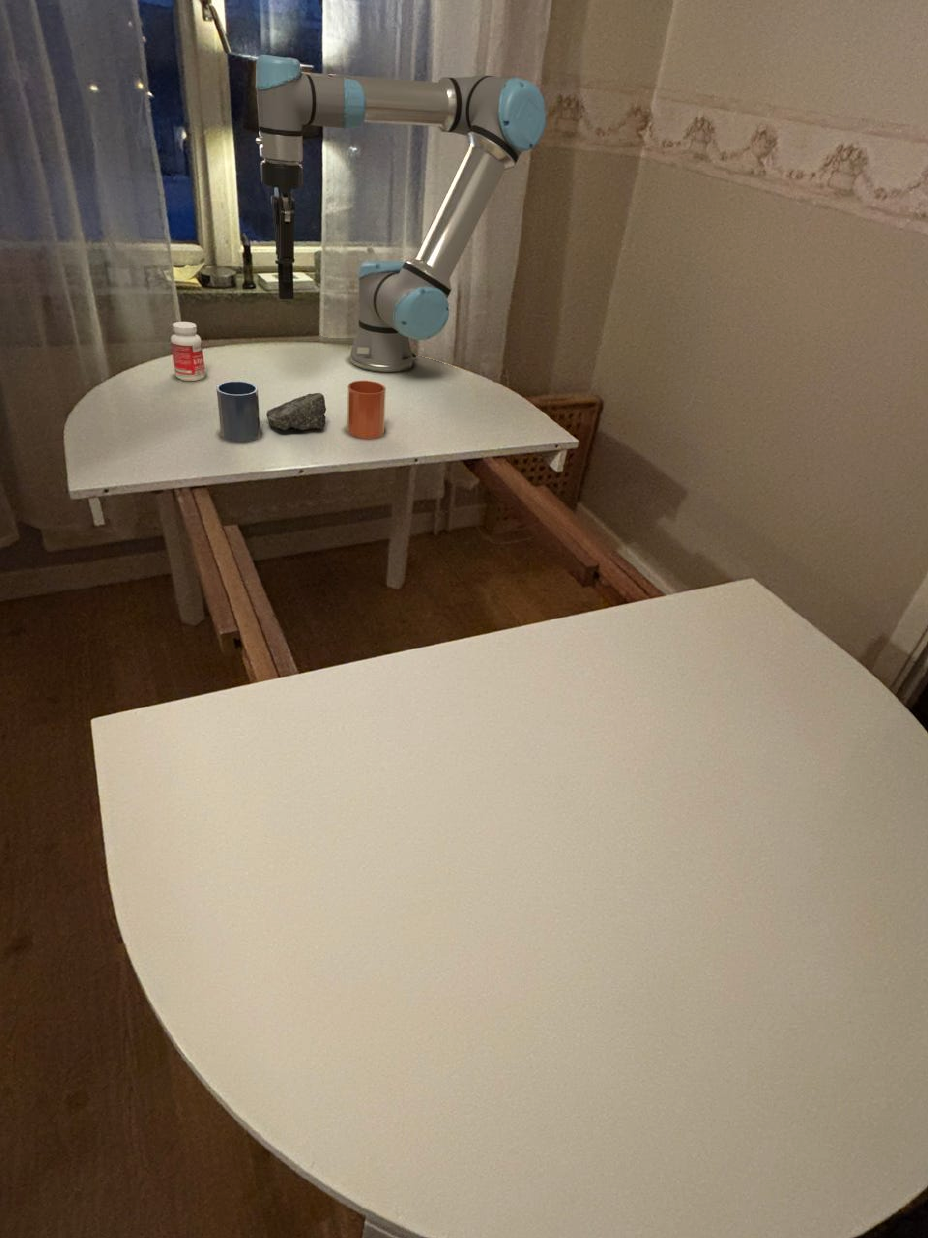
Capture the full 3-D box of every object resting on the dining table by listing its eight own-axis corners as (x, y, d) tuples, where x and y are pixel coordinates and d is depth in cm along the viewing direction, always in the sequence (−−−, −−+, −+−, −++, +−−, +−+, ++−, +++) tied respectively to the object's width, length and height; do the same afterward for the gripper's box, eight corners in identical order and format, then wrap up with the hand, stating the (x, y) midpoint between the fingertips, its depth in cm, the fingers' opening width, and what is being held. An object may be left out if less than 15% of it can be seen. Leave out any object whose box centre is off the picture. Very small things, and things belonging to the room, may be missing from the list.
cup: (258, 426, 144) (255, 381, 138) (262, 441, 138) (259, 394, 133) (219, 427, 141) (215, 381, 136) (222, 443, 136) (217, 395, 131)
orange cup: (379, 424, 151) (380, 380, 146) (387, 438, 146) (389, 393, 140) (344, 424, 149) (344, 380, 144) (351, 439, 144) (351, 394, 138)
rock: (265, 418, 147) (263, 389, 144) (321, 415, 151) (320, 387, 147) (272, 438, 141) (270, 408, 137) (329, 434, 144) (329, 405, 141)
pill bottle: (199, 383, 159) (194, 330, 152) (171, 379, 159) (164, 326, 152) (209, 373, 164) (204, 322, 157) (181, 370, 164) (175, 318, 157)
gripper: (256, 155, 138) (263, 289, 152) (264, 164, 129) (270, 306, 143) (297, 158, 141) (300, 290, 155) (307, 167, 131) (310, 307, 145)
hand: (286, 297), depth 149 cm, fingers closed
